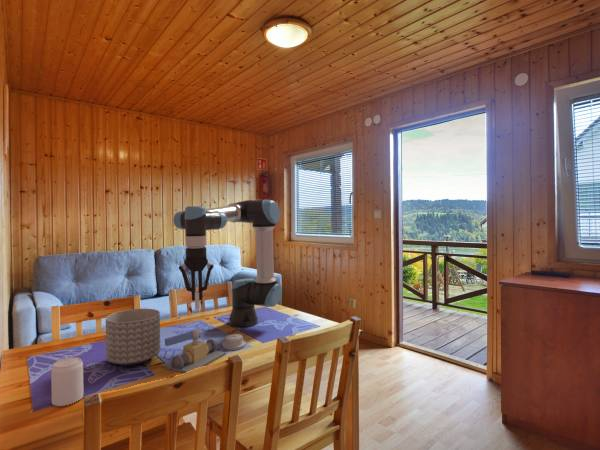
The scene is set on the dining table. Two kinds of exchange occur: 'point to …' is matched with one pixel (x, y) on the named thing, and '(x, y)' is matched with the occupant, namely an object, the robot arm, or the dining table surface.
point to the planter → (132, 336)
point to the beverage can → (67, 381)
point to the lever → (182, 337)
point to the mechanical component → (233, 342)
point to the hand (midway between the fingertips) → (197, 308)
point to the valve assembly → (195, 356)
